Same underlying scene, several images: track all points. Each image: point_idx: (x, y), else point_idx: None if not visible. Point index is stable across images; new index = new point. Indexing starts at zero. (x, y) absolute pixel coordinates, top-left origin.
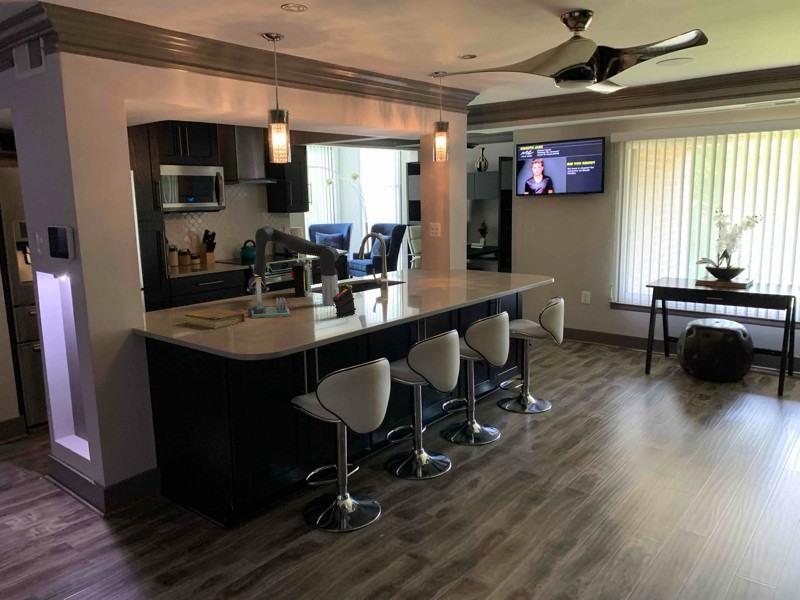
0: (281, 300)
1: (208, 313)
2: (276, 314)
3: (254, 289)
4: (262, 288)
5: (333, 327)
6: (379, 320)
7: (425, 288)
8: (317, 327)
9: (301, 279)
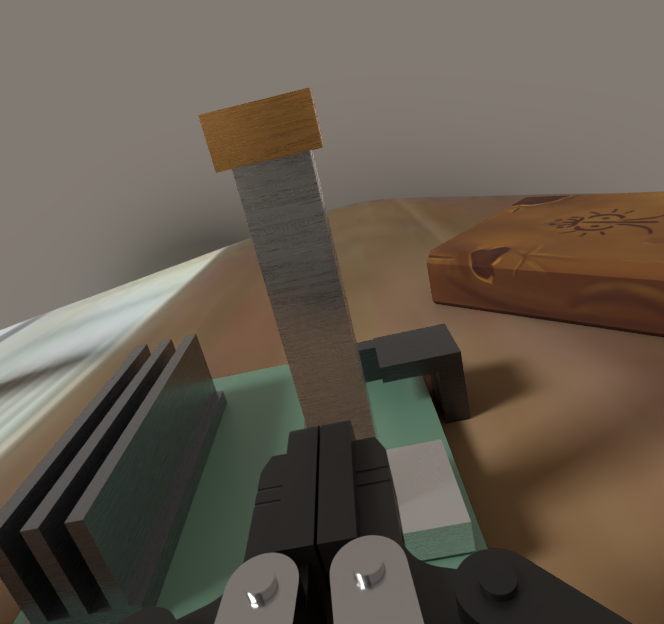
0: (129, 388)
1: (642, 214)
2: (247, 373)
3: (448, 572)
4: (168, 616)
5: (116, 306)
6: None
7: None
8: (160, 300)
9: None
